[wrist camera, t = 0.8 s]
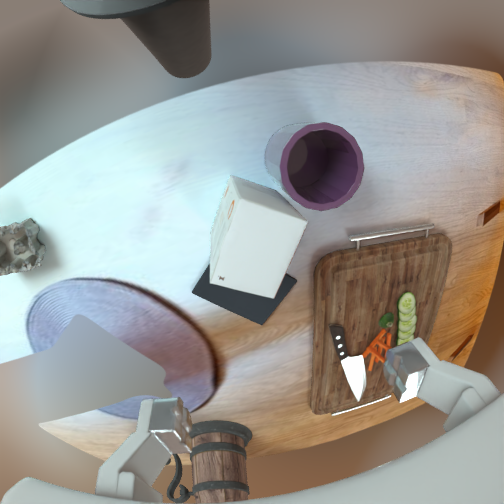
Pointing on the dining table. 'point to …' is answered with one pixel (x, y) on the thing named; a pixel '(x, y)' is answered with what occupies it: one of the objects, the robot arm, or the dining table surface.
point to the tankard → (215, 463)
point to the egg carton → (20, 247)
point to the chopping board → (372, 313)
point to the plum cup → (315, 164)
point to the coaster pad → (242, 298)
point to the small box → (253, 238)
